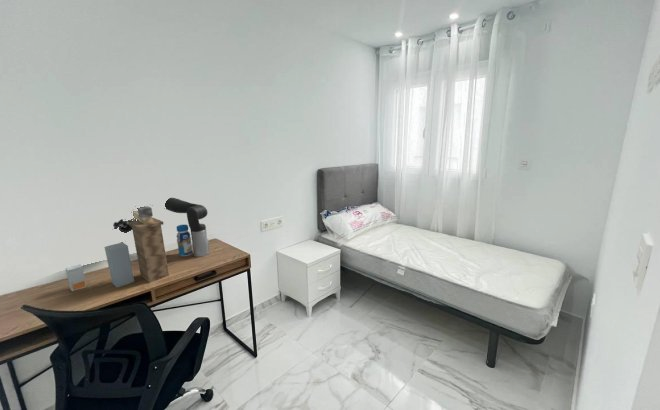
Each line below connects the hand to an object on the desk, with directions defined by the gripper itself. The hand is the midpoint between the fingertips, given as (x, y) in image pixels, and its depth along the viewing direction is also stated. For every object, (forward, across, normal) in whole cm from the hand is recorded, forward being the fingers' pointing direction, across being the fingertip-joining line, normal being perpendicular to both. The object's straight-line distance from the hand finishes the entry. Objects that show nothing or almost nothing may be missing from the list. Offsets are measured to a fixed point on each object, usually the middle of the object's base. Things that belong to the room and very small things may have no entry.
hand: (130, 219), depth 168 cm
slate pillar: (0, -13, +34) cm, 37 cm away
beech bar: (+16, +1, +6) cm, 17 cm away
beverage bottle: (-9, +26, +29) cm, 40 cm away
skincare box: (-10, -30, +29) cm, 43 cm away
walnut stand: (+6, 0, +37) cm, 38 cm away
